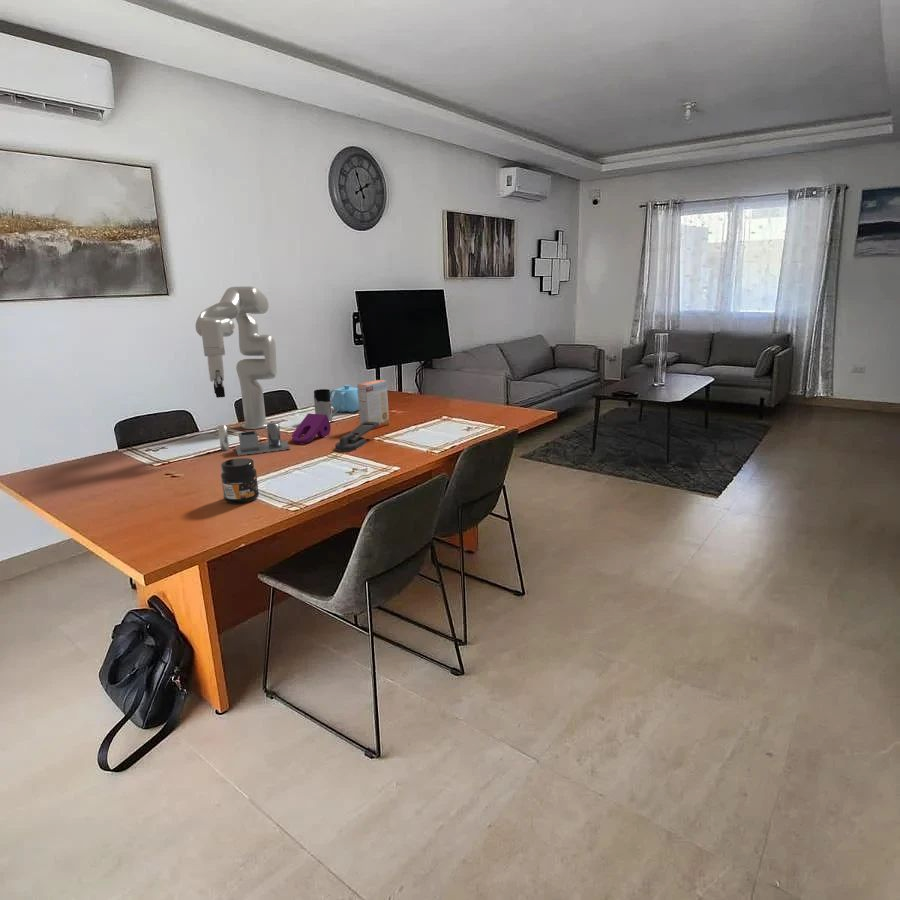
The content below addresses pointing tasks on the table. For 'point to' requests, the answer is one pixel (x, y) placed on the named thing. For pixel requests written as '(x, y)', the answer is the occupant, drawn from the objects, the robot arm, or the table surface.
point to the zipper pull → (355, 437)
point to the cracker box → (373, 402)
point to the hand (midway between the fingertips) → (219, 395)
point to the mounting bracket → (311, 428)
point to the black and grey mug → (324, 403)
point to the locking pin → (223, 437)
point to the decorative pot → (345, 399)
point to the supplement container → (239, 480)
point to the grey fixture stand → (252, 446)
